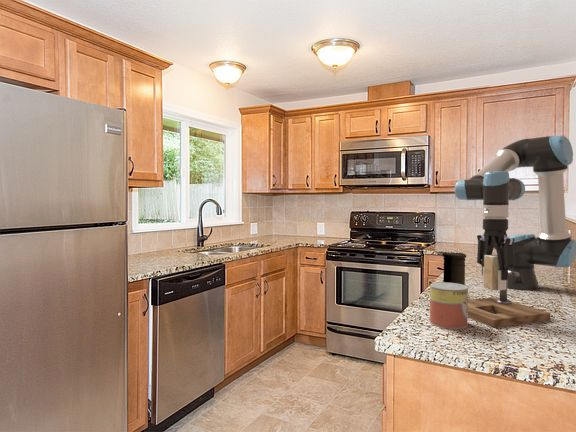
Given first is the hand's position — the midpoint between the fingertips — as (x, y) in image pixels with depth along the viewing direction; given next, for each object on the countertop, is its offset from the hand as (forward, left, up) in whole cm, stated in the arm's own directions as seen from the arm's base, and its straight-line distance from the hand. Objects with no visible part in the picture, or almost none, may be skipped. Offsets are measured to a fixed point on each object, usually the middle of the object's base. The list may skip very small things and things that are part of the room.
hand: (494, 287), depth 135 cm
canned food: (+19, +1, -10) cm, 21 cm away
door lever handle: (-10, -4, -7) cm, 13 cm away
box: (0, 0, -1) cm, 1 cm away
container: (-3, -23, -10) cm, 25 cm away
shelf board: (-3, -2, -10) cm, 10 cm away
